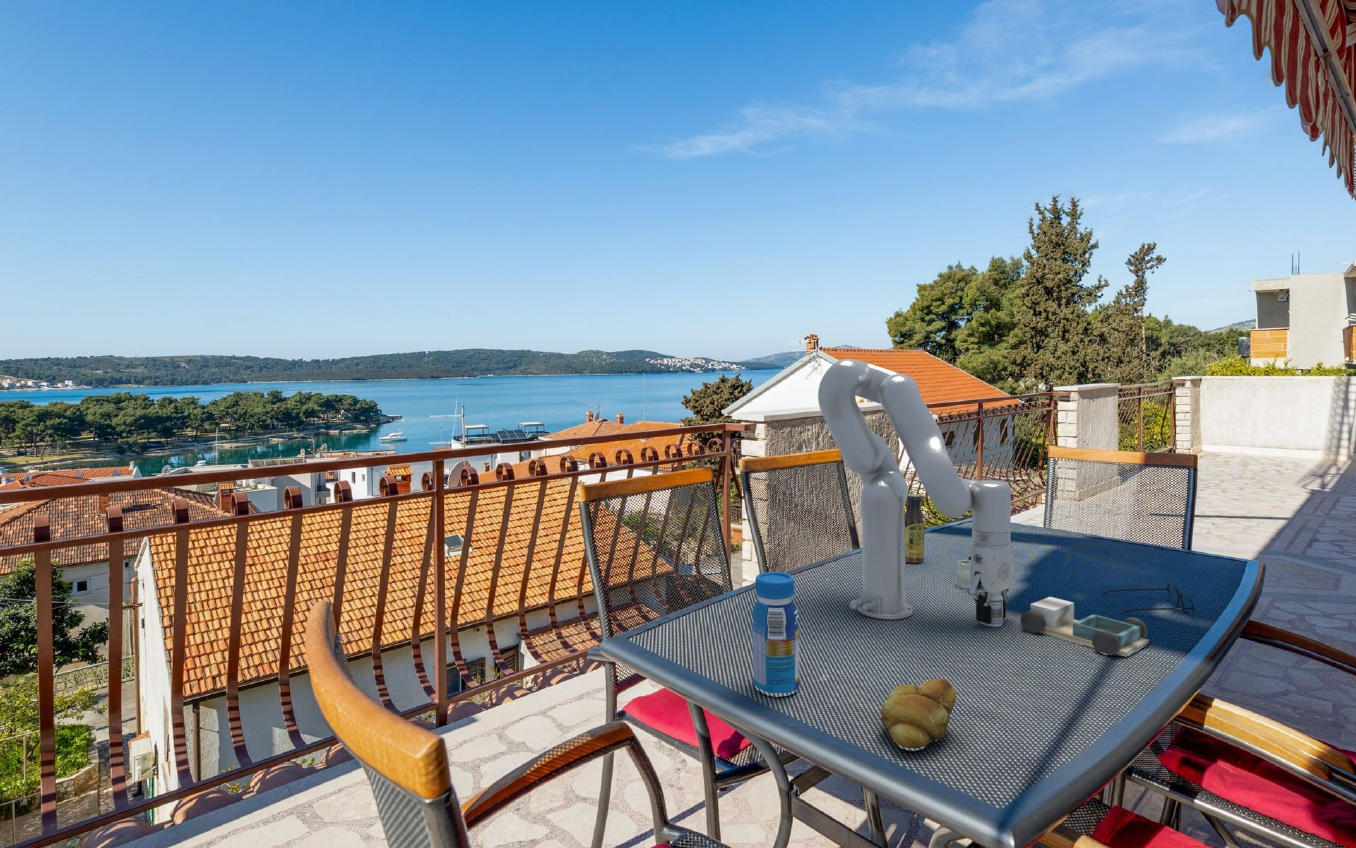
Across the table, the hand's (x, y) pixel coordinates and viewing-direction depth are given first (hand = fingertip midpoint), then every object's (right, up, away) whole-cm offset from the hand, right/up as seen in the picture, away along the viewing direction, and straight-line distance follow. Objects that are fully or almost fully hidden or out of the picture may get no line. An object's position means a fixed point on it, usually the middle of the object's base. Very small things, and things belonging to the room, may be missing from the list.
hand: (990, 618), depth 141 cm
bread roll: (-33, -5, -43) cm, 55 cm away
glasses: (+39, 0, +8) cm, 40 cm away
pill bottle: (0, -1, 0) cm, 1 cm away
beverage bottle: (-51, -4, -27) cm, 58 cm away
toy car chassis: (+15, -1, -8) cm, 17 cm away
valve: (+8, +1, +28) cm, 29 cm away
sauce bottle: (+1, +2, +50) cm, 50 cm away
